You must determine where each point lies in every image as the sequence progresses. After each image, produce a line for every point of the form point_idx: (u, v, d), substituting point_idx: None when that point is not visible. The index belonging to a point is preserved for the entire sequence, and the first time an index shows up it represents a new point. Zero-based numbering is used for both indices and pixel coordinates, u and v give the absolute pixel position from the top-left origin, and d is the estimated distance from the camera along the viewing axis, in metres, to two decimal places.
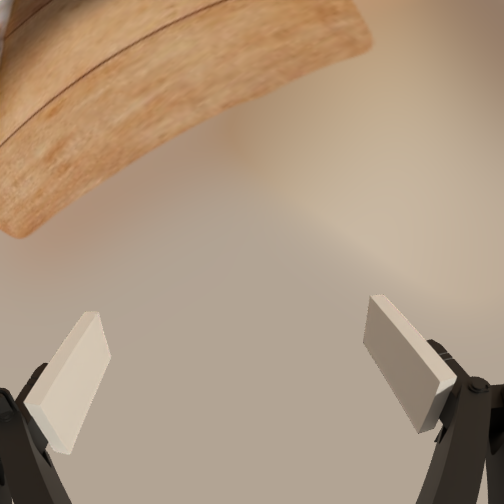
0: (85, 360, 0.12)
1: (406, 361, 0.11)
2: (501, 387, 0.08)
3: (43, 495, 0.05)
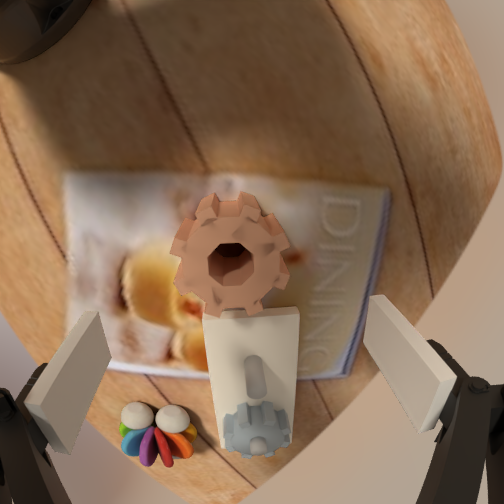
0: (85, 360, 0.12)
1: (406, 361, 0.11)
2: (501, 387, 0.08)
3: (43, 495, 0.05)
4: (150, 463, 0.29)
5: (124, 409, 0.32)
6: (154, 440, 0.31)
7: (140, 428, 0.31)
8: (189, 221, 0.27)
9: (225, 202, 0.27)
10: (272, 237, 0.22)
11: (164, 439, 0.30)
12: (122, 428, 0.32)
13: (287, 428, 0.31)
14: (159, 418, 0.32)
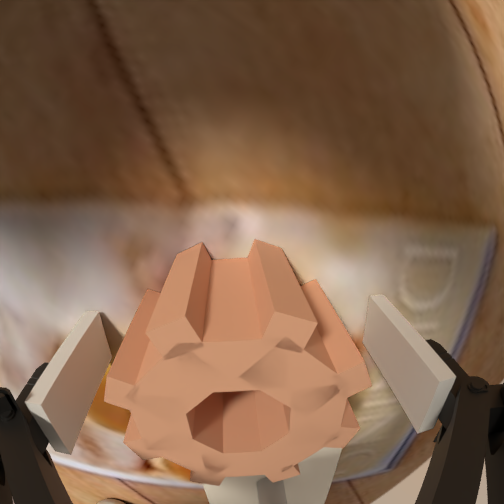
0: (86, 360, 0.12)
1: (405, 361, 0.11)
2: (500, 387, 0.08)
3: (44, 495, 0.05)
4: None
5: None
6: None
7: None
8: (154, 300, 0.13)
9: (224, 263, 0.13)
10: (336, 374, 0.09)
11: None
12: None
13: None
14: None
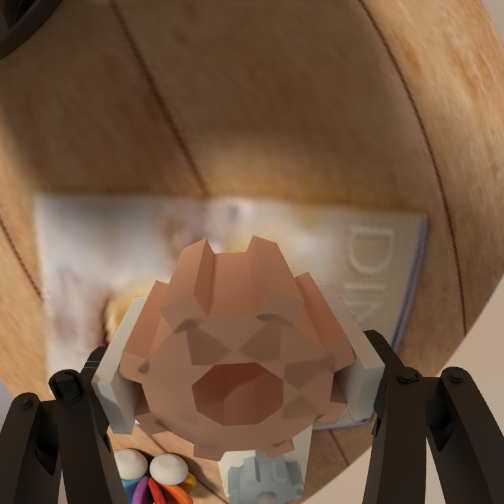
0: None
1: None
2: (437, 382, 0.09)
3: (100, 483, 0.06)
4: None
5: None
6: (149, 490, 0.25)
7: (132, 478, 0.24)
8: (162, 290, 0.15)
9: (225, 256, 0.15)
10: (323, 349, 0.10)
11: (159, 491, 0.24)
12: None
13: (300, 483, 0.24)
14: (153, 469, 0.25)
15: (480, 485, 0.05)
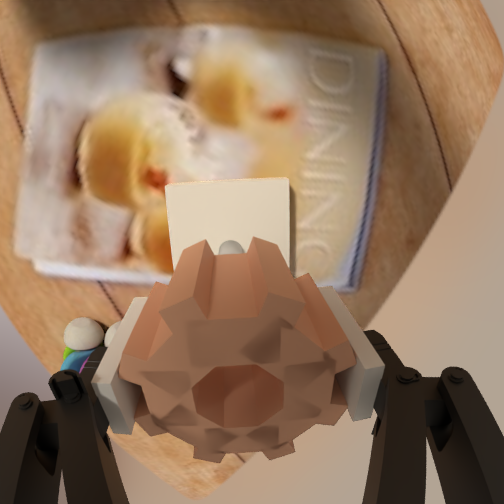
0: None
1: None
2: (437, 382, 0.09)
3: (100, 483, 0.06)
4: None
5: (68, 324, 0.25)
6: None
7: (84, 349, 0.24)
8: (161, 291, 0.15)
9: (225, 257, 0.15)
10: (324, 351, 0.10)
11: None
12: (65, 353, 0.25)
13: None
14: (108, 335, 0.25)
15: (480, 485, 0.05)
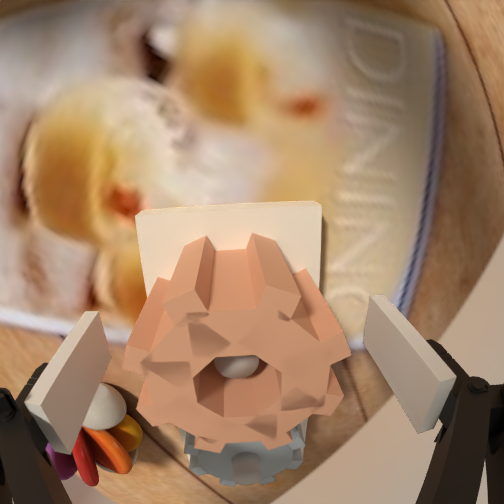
0: (85, 360, 0.12)
1: (406, 361, 0.11)
2: (501, 387, 0.08)
3: (44, 495, 0.05)
4: (63, 475, 0.15)
5: None
6: None
7: None
8: (164, 286, 0.15)
9: (225, 253, 0.15)
10: (320, 343, 0.11)
11: (79, 438, 0.16)
12: None
13: (298, 438, 0.17)
14: None
15: None
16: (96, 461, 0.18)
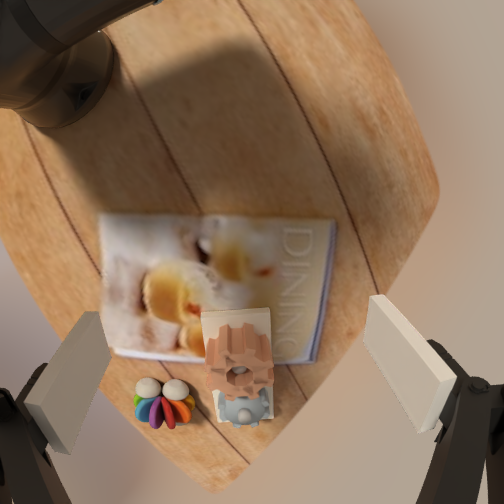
0: (85, 360, 0.12)
1: (406, 361, 0.11)
2: (501, 387, 0.08)
3: (44, 495, 0.05)
4: (157, 425, 0.40)
5: (138, 383, 0.43)
6: (161, 407, 0.42)
7: (150, 397, 0.42)
8: (212, 341, 0.41)
9: (234, 330, 0.41)
10: (263, 362, 0.36)
11: (168, 405, 0.41)
12: (136, 399, 0.43)
13: (266, 401, 0.42)
14: (165, 389, 0.43)
15: None
16: None
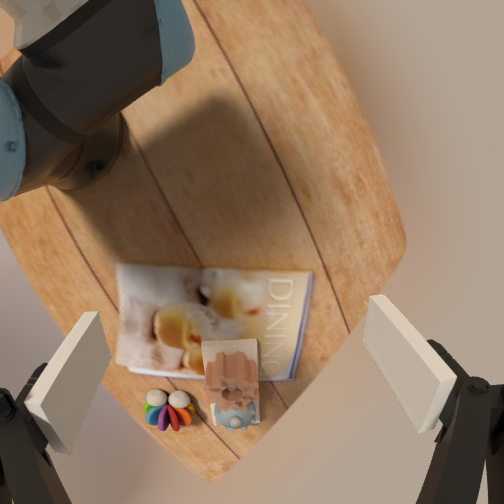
0: (85, 360, 0.12)
1: (406, 361, 0.11)
2: (501, 387, 0.08)
3: (44, 495, 0.05)
4: (164, 428, 0.50)
5: (148, 393, 0.52)
6: (167, 413, 0.52)
7: (158, 405, 0.51)
8: (210, 365, 0.50)
9: (228, 356, 0.50)
10: (250, 384, 0.46)
11: (174, 412, 0.51)
12: (146, 406, 0.52)
13: (253, 410, 0.52)
14: (171, 398, 0.52)
15: None
16: None
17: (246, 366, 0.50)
